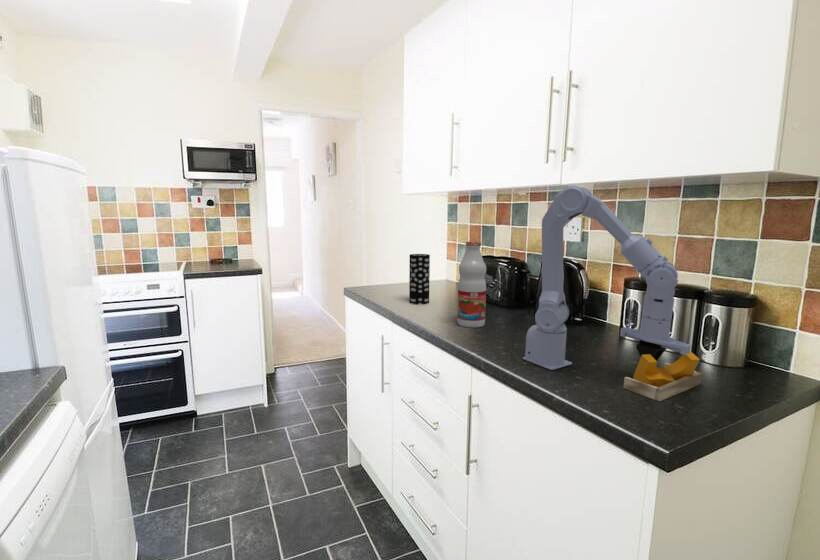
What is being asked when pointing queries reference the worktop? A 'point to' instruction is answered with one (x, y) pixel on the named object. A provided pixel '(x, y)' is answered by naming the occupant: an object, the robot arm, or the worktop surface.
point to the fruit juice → (472, 288)
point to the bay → (664, 390)
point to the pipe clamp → (664, 370)
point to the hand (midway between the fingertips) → (648, 374)
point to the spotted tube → (419, 278)
